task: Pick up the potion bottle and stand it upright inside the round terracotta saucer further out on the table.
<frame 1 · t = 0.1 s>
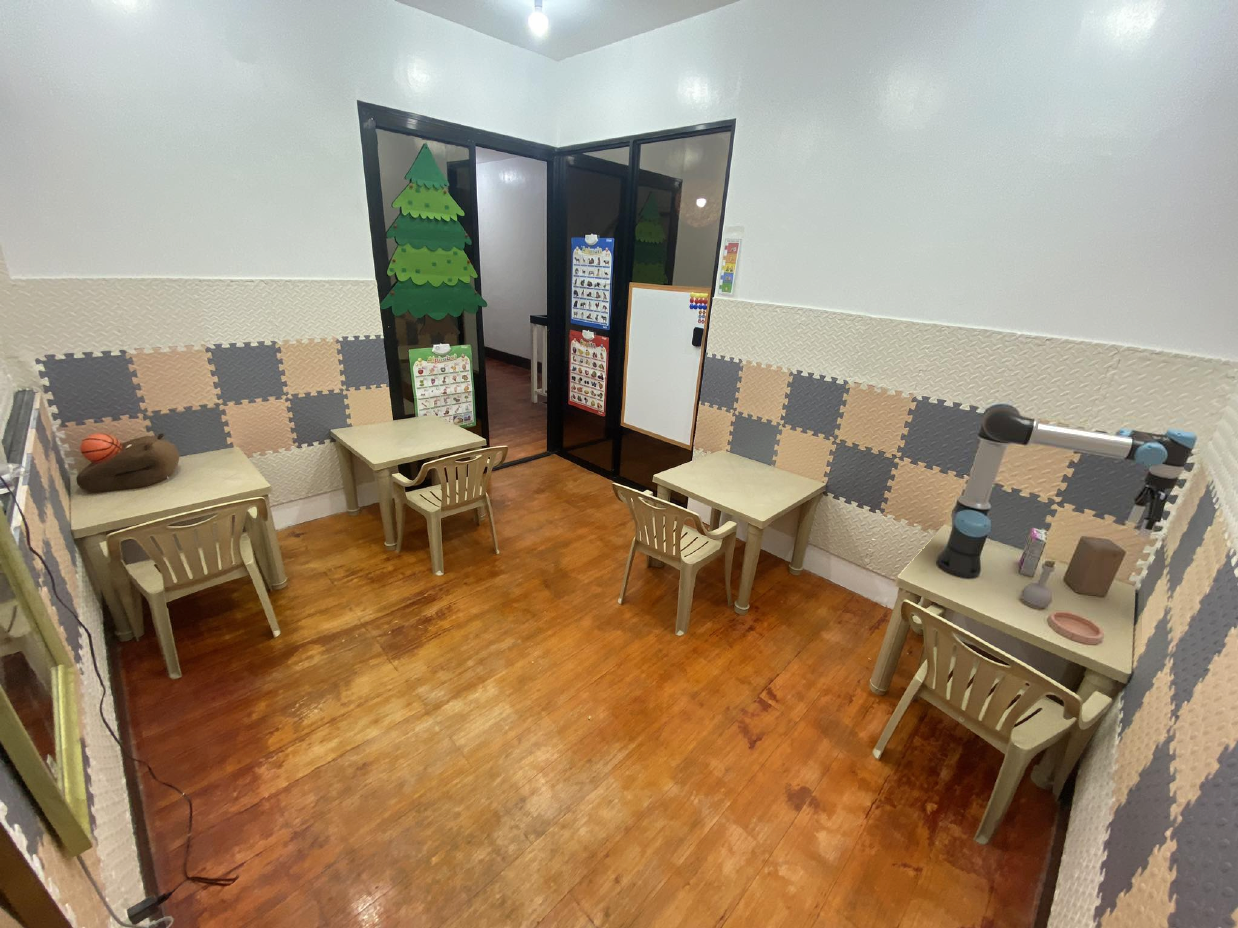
hand: (1137, 529, 187), 28 cm above the table, fingers open, 13 cm apart
candy bar box: (1025, 570, 211), on the table
potion bottle: (1033, 603, 190), on the table
wooden block: (1083, 588, 201), on the table
saucer: (1073, 629, 176), on the table
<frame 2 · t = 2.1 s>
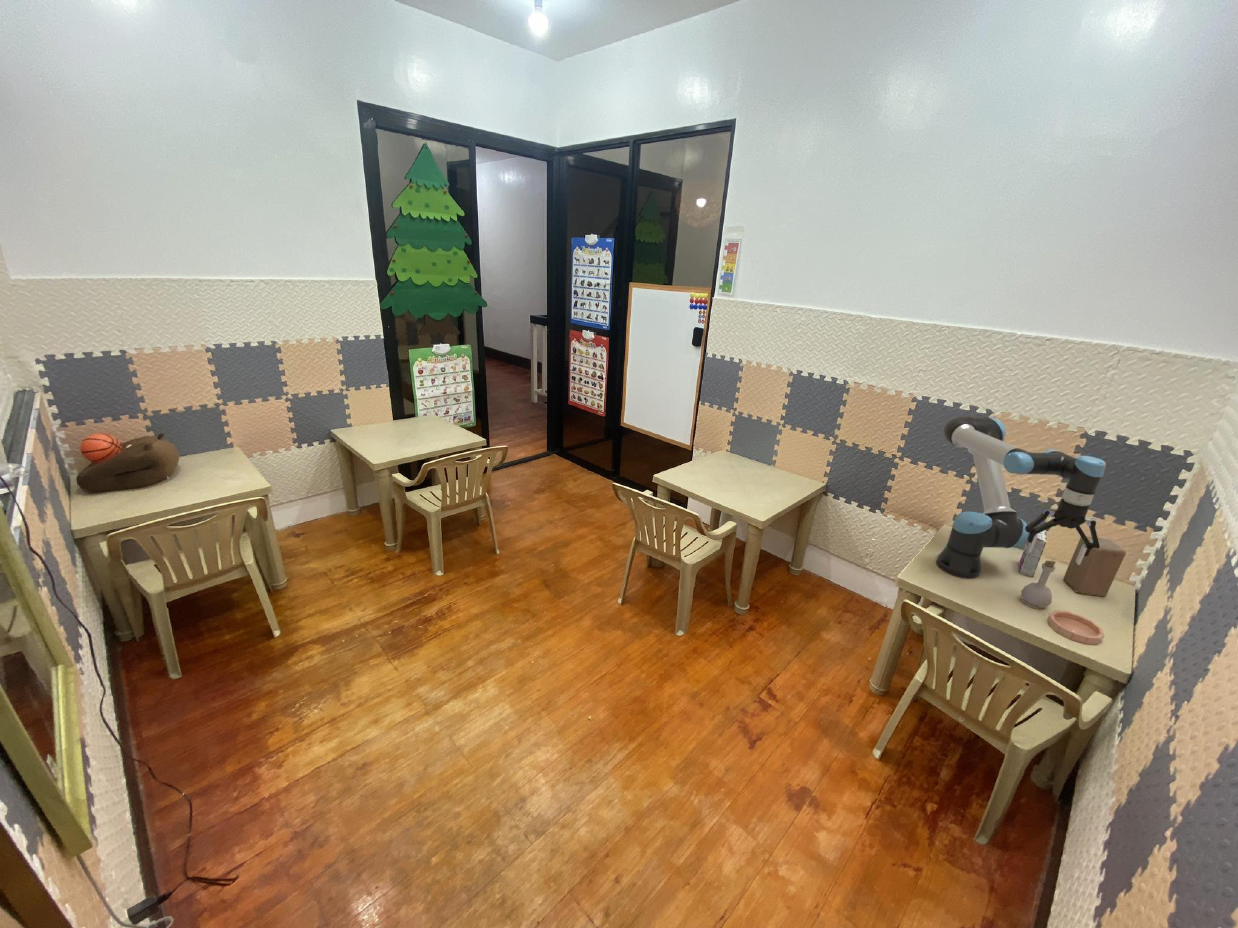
hand: (1053, 556, 182), 20 cm above the table, fingers open, 13 cm apart
nothing on the table moved.
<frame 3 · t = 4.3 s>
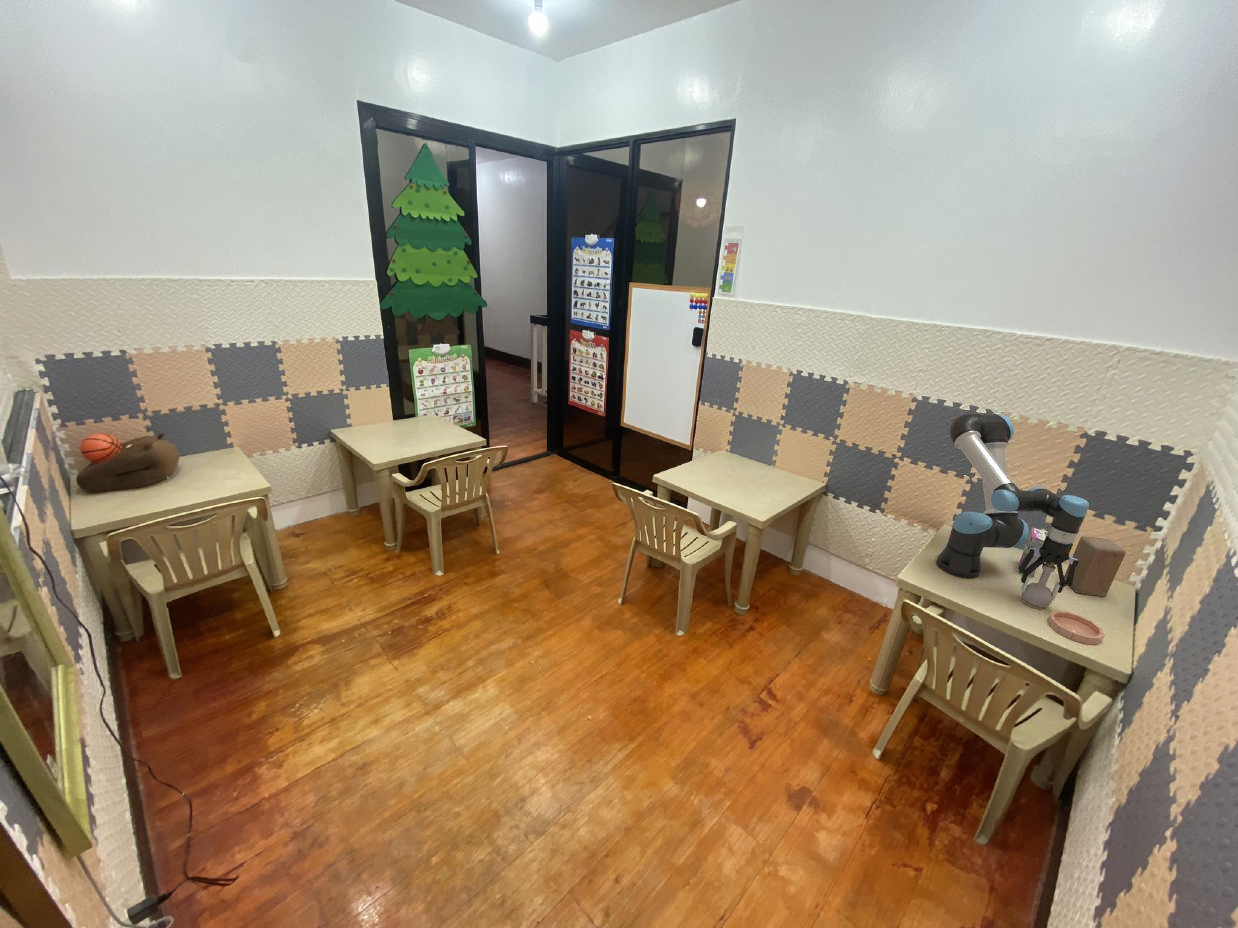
hand: (1037, 594, 188), 4 cm above the table, fingers closed on potion bottle, 8 cm apart
potion bottle: (1033, 603, 190), on the table, touching gripper
everything else where it was.
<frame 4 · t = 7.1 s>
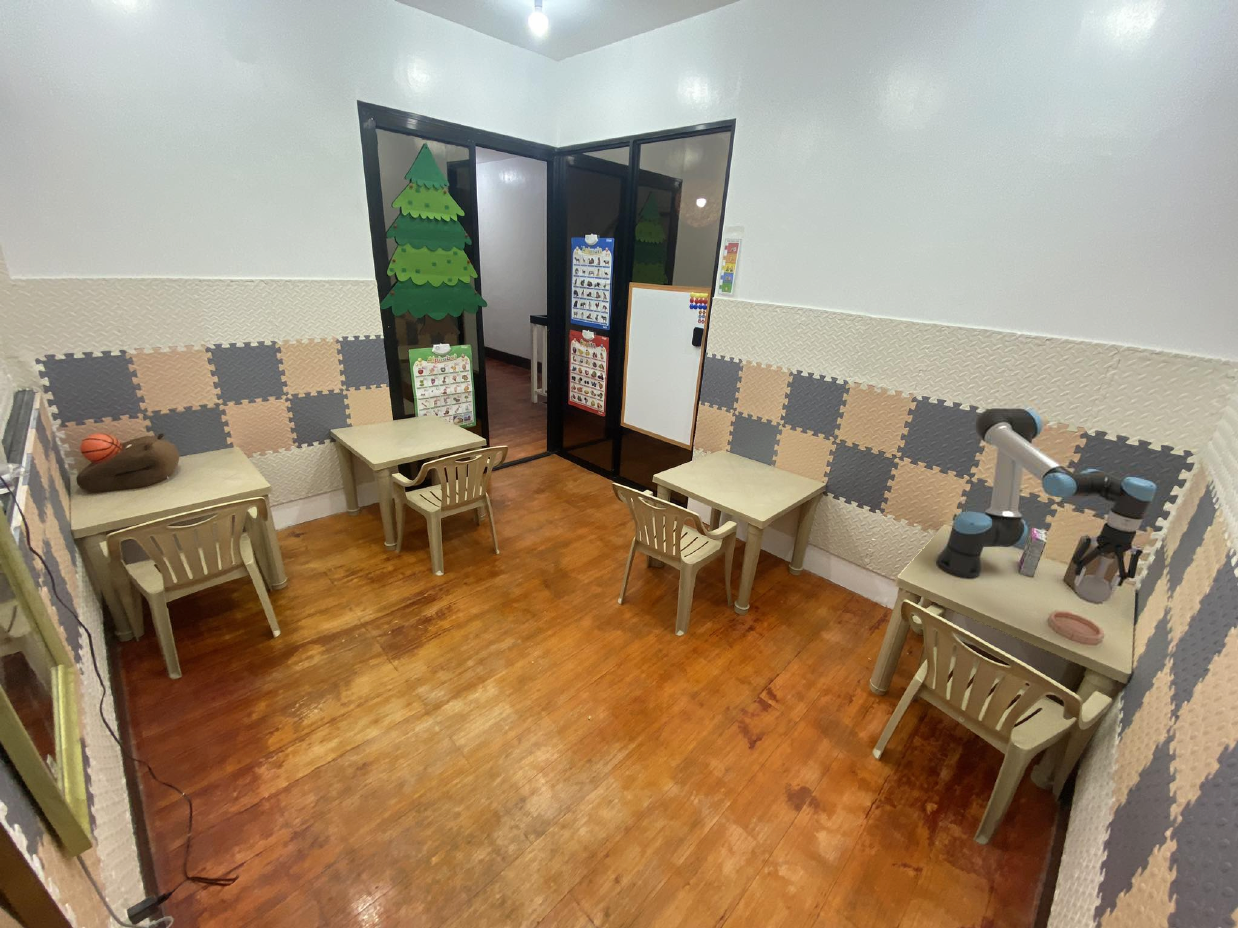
hand: (1093, 588, 170), 17 cm above the table, fingers closed on potion bottle, 8 cm apart
potion bottle: (1089, 598, 171), point 13 cm above the table, touching gripper
everything else where it was.
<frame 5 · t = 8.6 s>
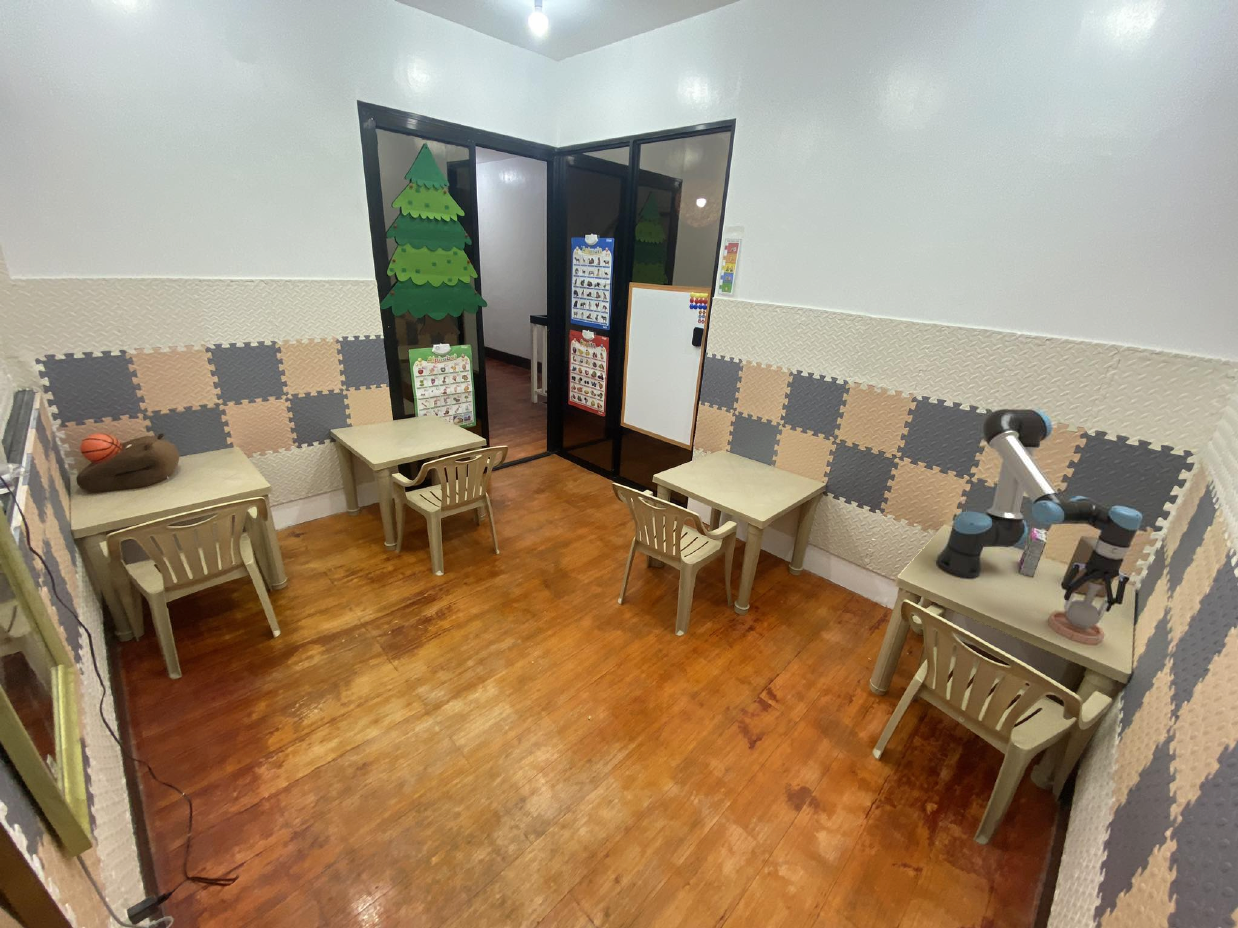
hand: (1081, 613, 173), 7 cm above the table, fingers closed on potion bottle, 8 cm apart
potion bottle: (1078, 622, 175), point 3 cm above the table, touching gripper
everything else where it was.
when the fingers open (6 cm above the table, at t = 9.8 s): potion bottle drops 1 cm, resting on saucer.
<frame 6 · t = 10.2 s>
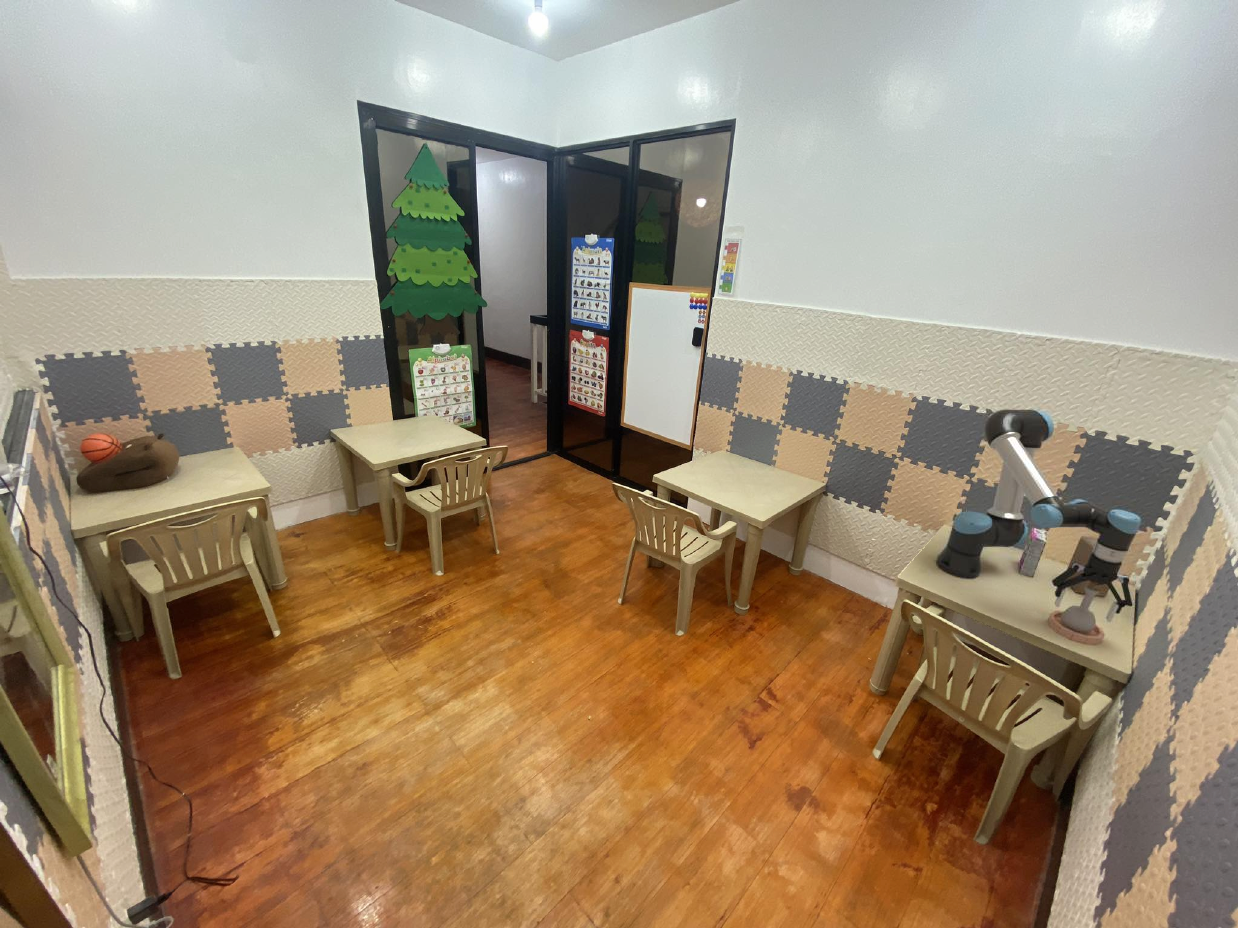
hand: (1081, 612, 173), 7 cm above the table, fingers open, 13 cm apart
potion bottle: (1074, 628, 176), point 1 cm above the table, touching saucer
everything else where it was.
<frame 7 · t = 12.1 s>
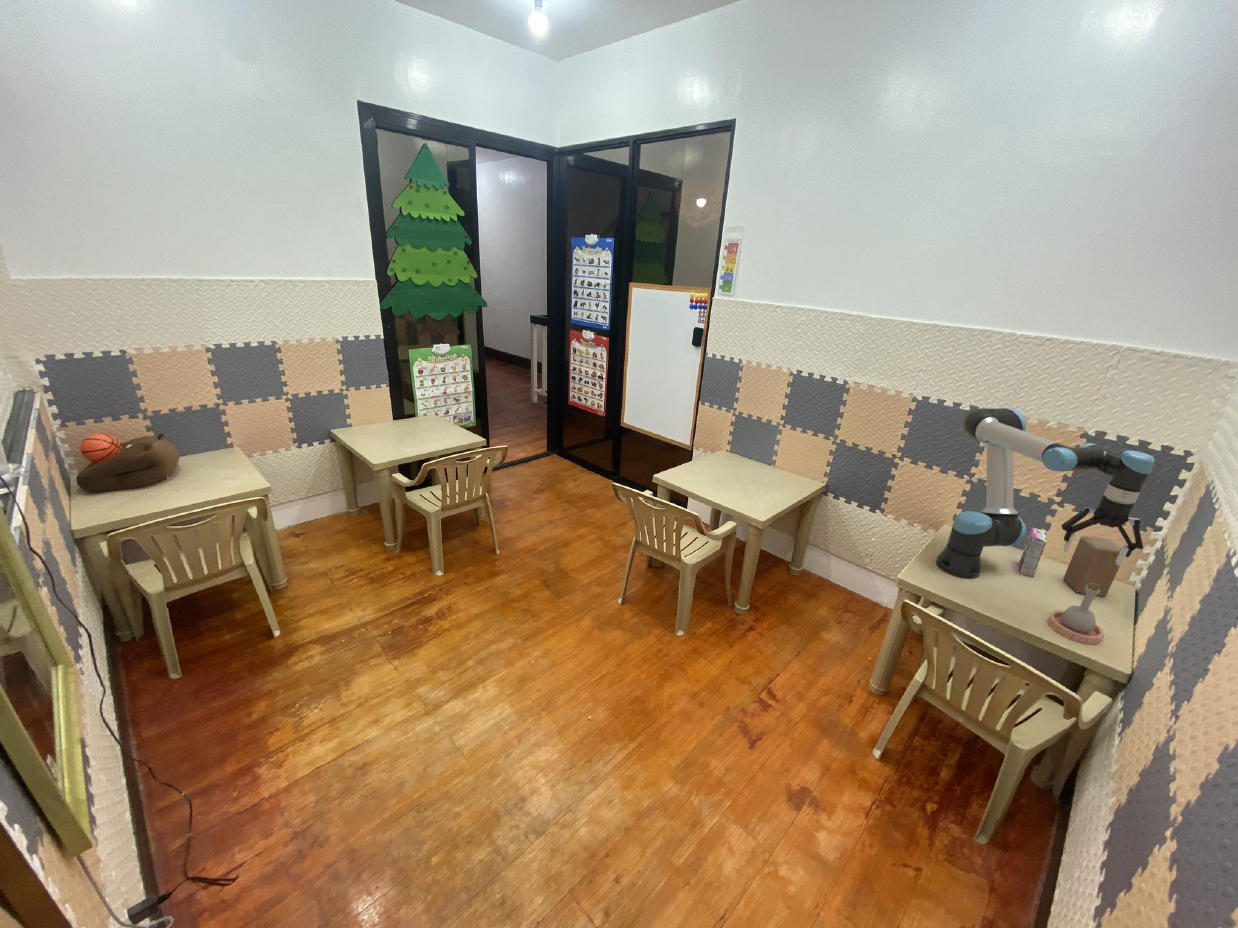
hand: (1090, 556, 172), 25 cm above the table, fingers open, 13 cm apart
nothing on the table moved.
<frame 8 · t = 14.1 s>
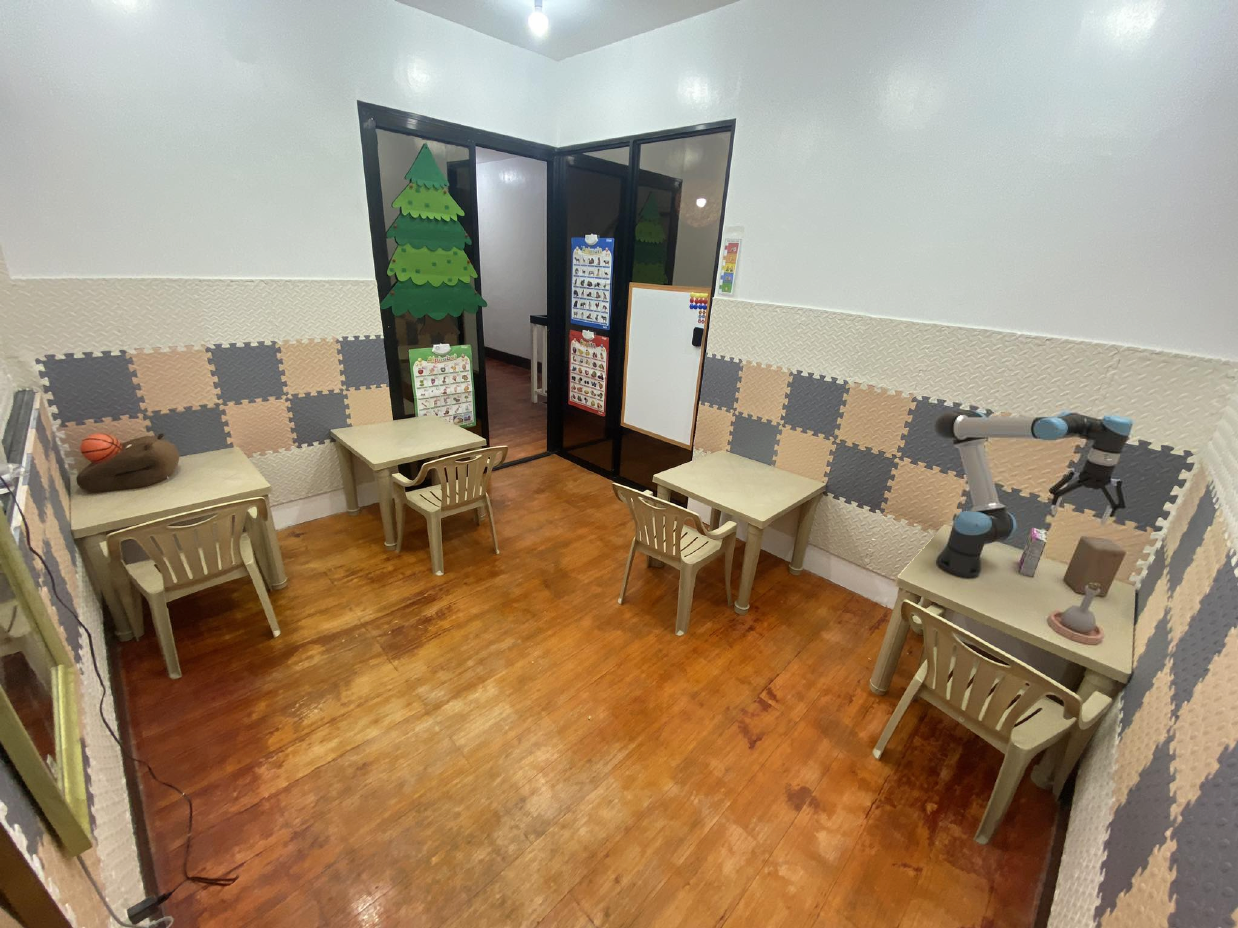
hand: (1077, 518, 181), 33 cm above the table, fingers open, 13 cm apart
nothing on the table moved.
at the end: potion bottle 0.1 cm from the saucer (horizontally); potion bottle tilted 0°; potion bottle point 0.6 cm above the table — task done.
